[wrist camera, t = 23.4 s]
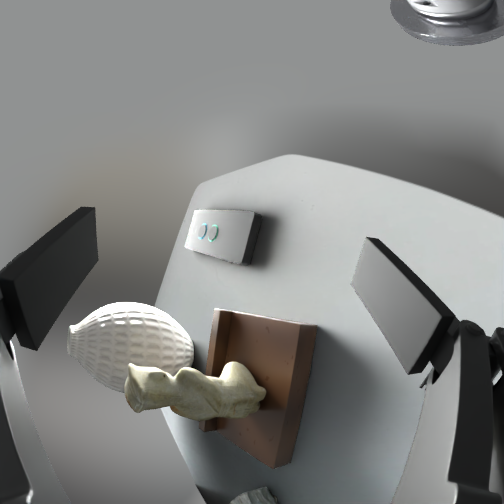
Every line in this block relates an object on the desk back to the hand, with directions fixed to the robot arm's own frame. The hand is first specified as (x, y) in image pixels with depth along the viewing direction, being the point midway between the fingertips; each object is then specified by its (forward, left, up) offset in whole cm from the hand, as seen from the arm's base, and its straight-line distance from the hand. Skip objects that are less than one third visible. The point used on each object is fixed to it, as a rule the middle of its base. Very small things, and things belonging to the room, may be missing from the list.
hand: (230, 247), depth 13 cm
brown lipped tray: (+13, -15, -19) cm, 28 cm away
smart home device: (-8, -32, -19) cm, 38 cm away
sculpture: (+13, -15, -16) cm, 26 cm away
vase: (+14, -38, -19) cm, 45 cm away
